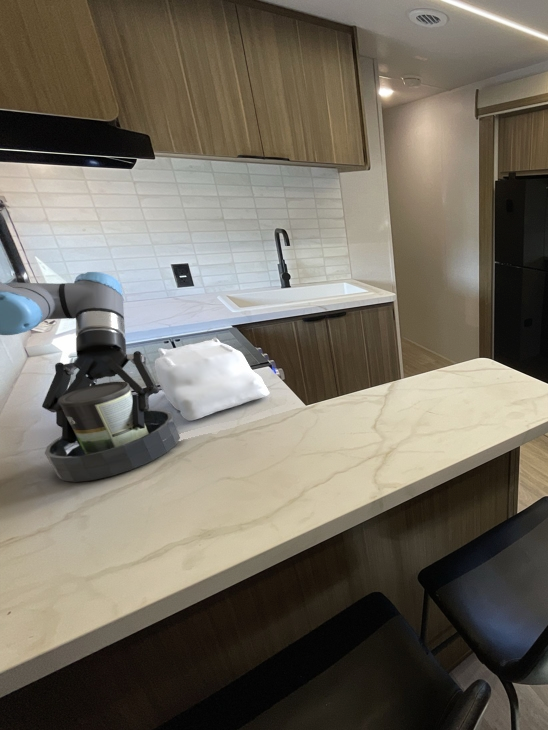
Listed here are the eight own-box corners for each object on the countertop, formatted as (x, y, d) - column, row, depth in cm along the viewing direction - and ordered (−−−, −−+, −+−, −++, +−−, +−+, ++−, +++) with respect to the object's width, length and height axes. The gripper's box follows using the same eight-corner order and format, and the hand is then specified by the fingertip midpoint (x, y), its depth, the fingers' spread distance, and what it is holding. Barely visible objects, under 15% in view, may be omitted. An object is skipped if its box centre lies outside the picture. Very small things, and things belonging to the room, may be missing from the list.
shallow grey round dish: (28, 487, 74) (13, 462, 72) (111, 434, 92) (101, 413, 90) (138, 477, 76) (126, 452, 74) (199, 427, 93) (191, 406, 91)
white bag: (236, 373, 126) (223, 332, 121) (273, 398, 107) (259, 350, 102) (161, 394, 113) (143, 349, 108) (187, 426, 94) (167, 373, 89)
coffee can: (87, 473, 77) (52, 408, 72) (91, 452, 84) (61, 391, 79) (154, 453, 83) (128, 391, 78) (153, 434, 90) (129, 377, 85)
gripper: (172, 337, 94) (182, 424, 87) (42, 356, 85) (40, 455, 77) (158, 320, 87) (167, 412, 80) (15, 337, 78) (11, 444, 71)
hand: (105, 433), depth 79 cm, fingers closed on coffee can, 10 cm apart
